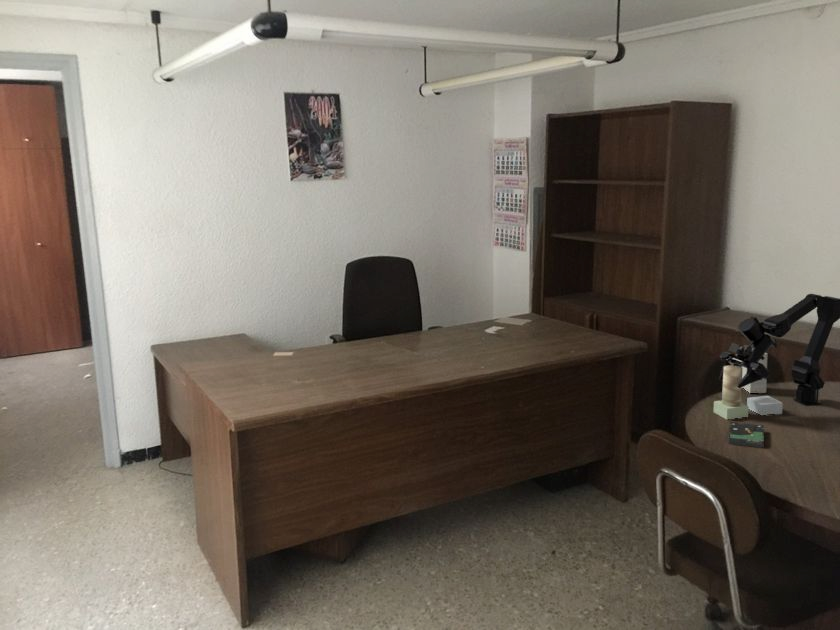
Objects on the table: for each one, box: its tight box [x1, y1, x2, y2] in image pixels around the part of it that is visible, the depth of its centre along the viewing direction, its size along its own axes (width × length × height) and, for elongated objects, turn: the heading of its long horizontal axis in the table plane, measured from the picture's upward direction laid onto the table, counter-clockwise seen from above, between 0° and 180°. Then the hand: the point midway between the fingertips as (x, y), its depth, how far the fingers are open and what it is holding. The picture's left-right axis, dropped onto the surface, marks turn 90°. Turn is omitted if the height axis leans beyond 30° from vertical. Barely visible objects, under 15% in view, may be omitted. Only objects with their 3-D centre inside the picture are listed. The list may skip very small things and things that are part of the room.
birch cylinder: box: [721, 365, 743, 407], centre depth 245 cm, size 6×6×13 cm
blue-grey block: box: [746, 395, 784, 416], centre depth 249 cm, size 8×8×4 cm
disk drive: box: [727, 421, 765, 448], centre depth 227 cm, size 10×3×15 cm
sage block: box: [712, 399, 749, 420], centre depth 246 cm, size 8×8×4 cm
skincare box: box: [741, 352, 768, 394], centre depth 269 cm, size 8×7×16 cm
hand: (728, 383), depth 244 cm, fingers open, 9 cm apart
